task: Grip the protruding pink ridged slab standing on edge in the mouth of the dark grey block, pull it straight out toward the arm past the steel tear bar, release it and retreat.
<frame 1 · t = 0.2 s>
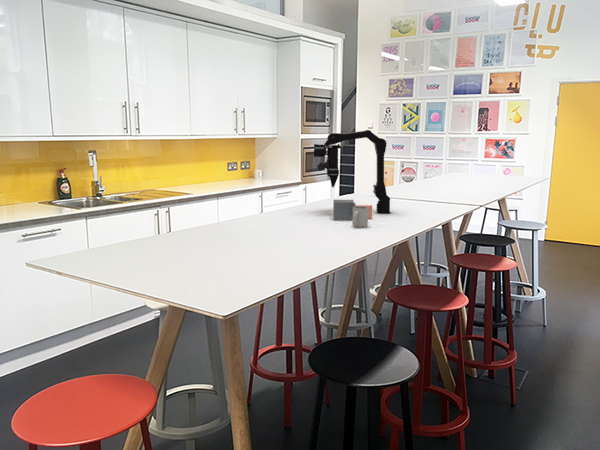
hand: (332, 186, 272), 14 cm above the table, fingers open, 9 cm apart
cup: (358, 227, 238), on the table
dark grey block: (343, 218, 258), on the table
pink ridged slab: (355, 211, 257), point 4 cm above the table, slide at 0.0 cm
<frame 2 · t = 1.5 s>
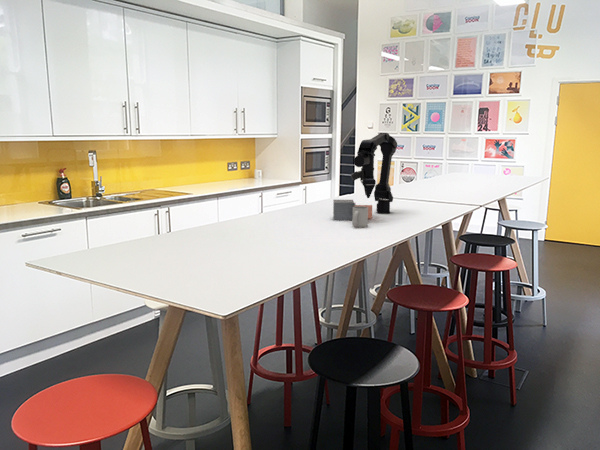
hand: (367, 196, 255), 11 cm above the table, fingers open, 9 cm apart
nothing on the table moved.
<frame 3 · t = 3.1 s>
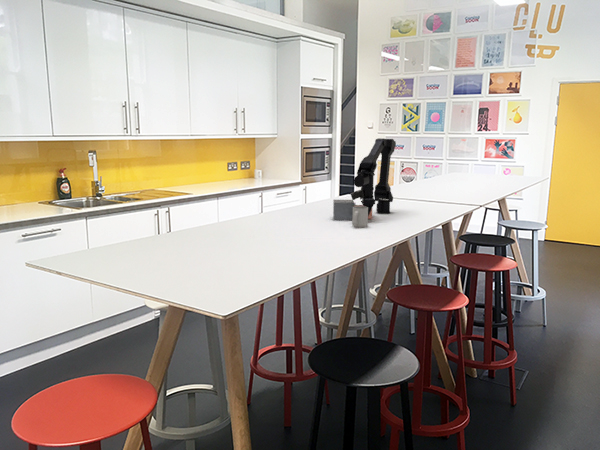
hand: (366, 215, 257), 2 cm above the table, fingers closed on pink ridged slab, 2 cm apart
pink ridged slab: (355, 211, 257), point 4 cm above the table, slide at 0.0 cm, touching gripper
everything else where it was.
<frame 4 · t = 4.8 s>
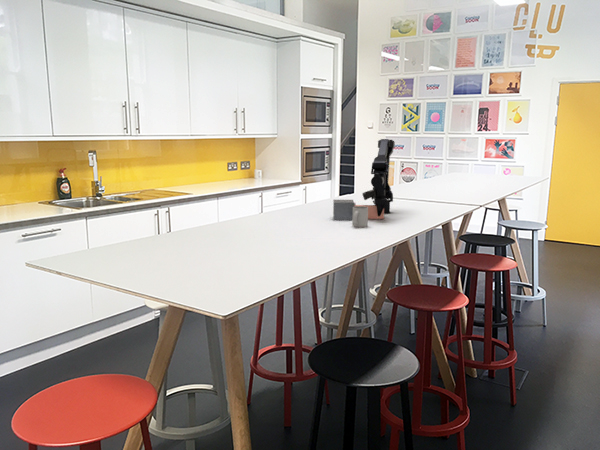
hand: (378, 215, 257), 2 cm above the table, fingers closed on pink ridged slab, 2 cm apart
pink ridged slab: (366, 211, 257), point 4 cm above the table, slide at 5.9 cm, touching gripper
everything else where it was.
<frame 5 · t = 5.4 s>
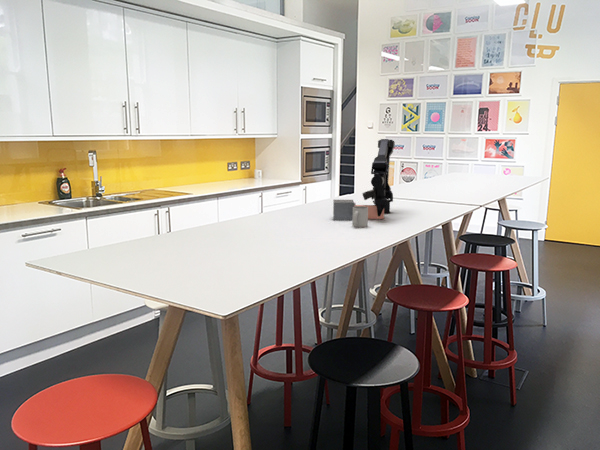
hand: (378, 215, 257), 2 cm above the table, fingers closed on pink ridged slab, 2 cm apart
pink ridged slab: (366, 211, 257), point 4 cm above the table, slide at 5.9 cm, touching gripper
everything else where it was.
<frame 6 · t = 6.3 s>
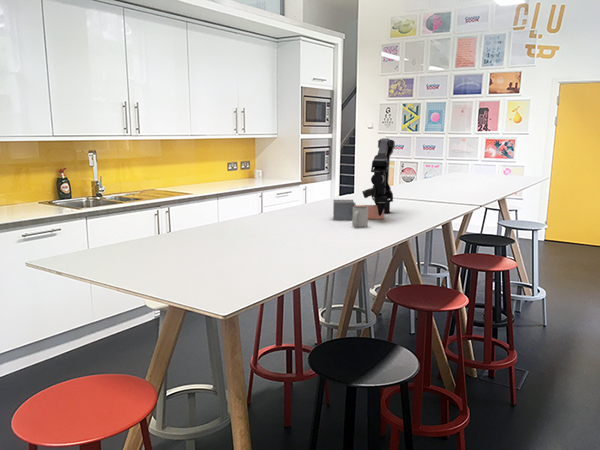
hand: (378, 213, 256), 2 cm above the table, fingers open, 9 cm apart
pink ridged slab: (366, 211, 257), point 4 cm above the table, slide at 5.9 cm
everything else where it was.
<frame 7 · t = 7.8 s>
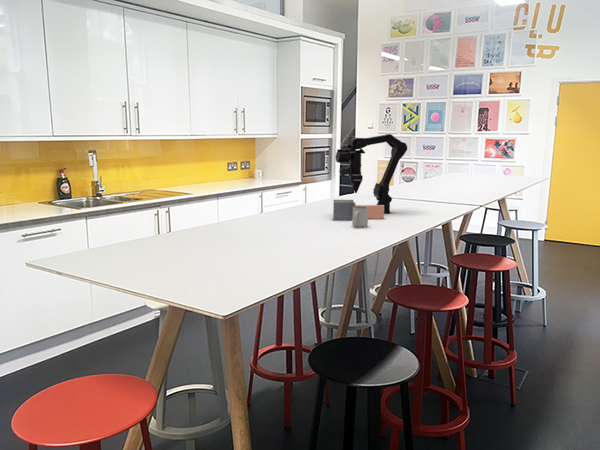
hand: (355, 191, 268), 12 cm above the table, fingers open, 9 cm apart
nothing on the table moved.
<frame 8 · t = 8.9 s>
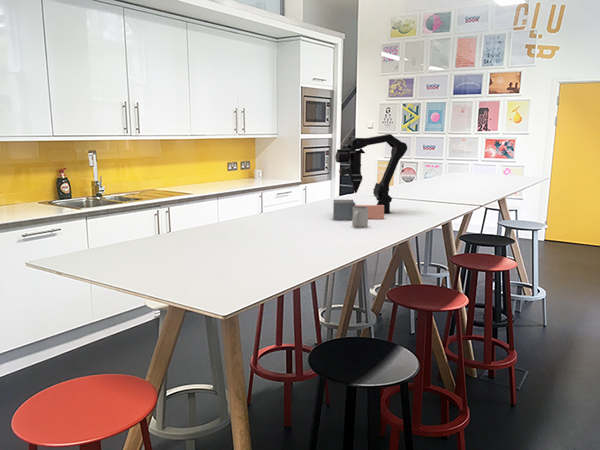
hand: (354, 191, 268), 12 cm above the table, fingers open, 9 cm apart
nothing on the table moved.
at the end: pink ridged slab slide at 5.9 cm; the gripper is holding nothing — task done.
